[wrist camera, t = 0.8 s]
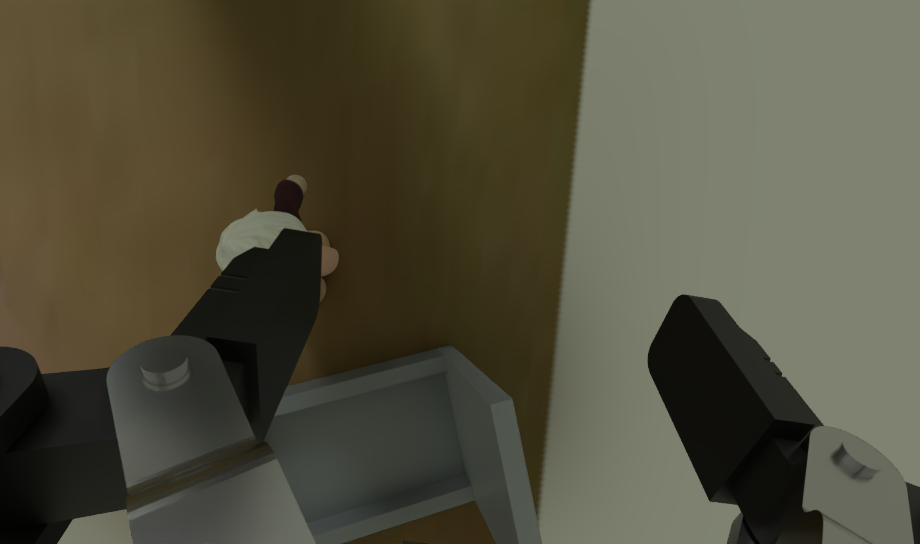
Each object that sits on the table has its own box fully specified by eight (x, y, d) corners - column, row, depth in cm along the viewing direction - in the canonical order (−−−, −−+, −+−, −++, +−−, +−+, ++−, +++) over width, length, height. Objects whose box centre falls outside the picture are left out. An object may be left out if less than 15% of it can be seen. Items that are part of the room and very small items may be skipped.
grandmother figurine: (343, 320, 28) (334, 366, 16) (276, 326, 28) (210, 379, 15) (334, 191, 28) (317, 136, 16) (266, 194, 27) (190, 138, 15)
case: (237, 398, 27) (146, 502, 16) (451, 344, 30) (512, 398, 18) (272, 542, 28) (210, 748, 16) (479, 477, 30) (555, 613, 19)
